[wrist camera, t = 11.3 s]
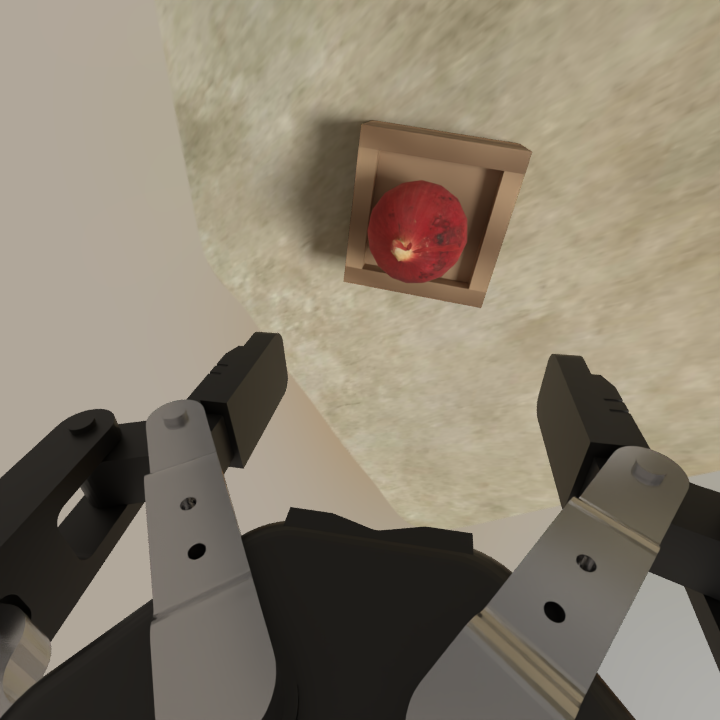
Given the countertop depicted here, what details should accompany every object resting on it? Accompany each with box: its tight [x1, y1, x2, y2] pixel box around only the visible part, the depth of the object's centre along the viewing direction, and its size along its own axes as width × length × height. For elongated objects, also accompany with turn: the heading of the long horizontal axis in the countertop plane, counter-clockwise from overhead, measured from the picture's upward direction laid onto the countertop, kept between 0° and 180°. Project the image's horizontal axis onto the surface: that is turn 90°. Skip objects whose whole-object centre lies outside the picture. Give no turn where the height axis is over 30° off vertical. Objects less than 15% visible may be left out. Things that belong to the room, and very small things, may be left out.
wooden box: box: [344, 120, 532, 308], centre depth 29 cm, size 10×10×5 cm
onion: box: [367, 180, 467, 283], centre depth 24 cm, size 6×6×8 cm
